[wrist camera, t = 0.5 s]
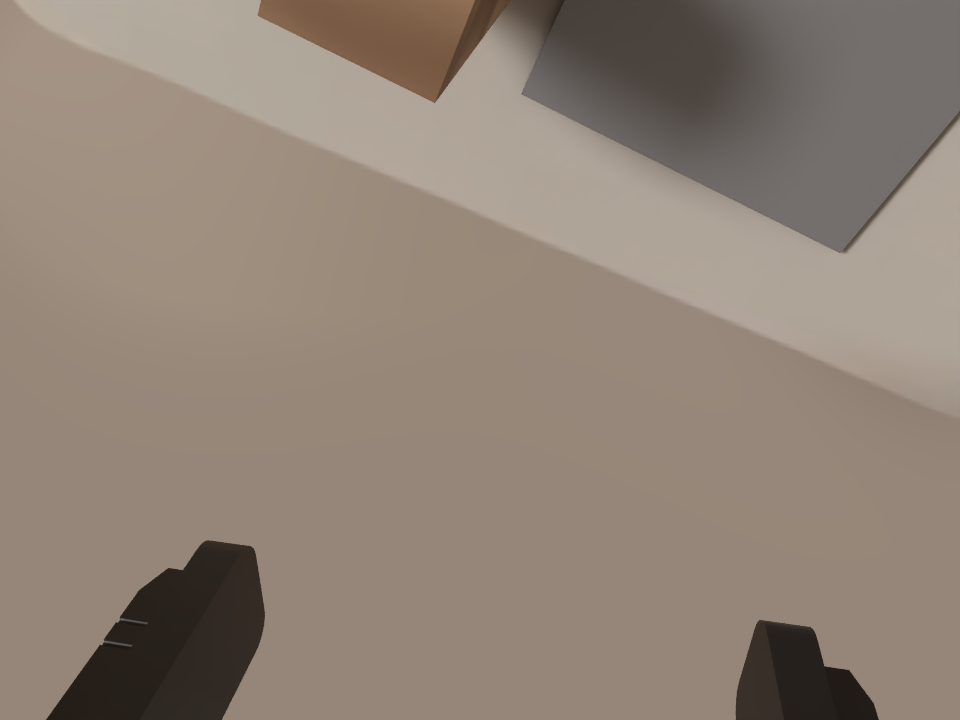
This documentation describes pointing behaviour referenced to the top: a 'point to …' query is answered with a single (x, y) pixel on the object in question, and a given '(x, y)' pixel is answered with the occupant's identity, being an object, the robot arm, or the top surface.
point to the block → (393, 34)
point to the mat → (763, 95)
